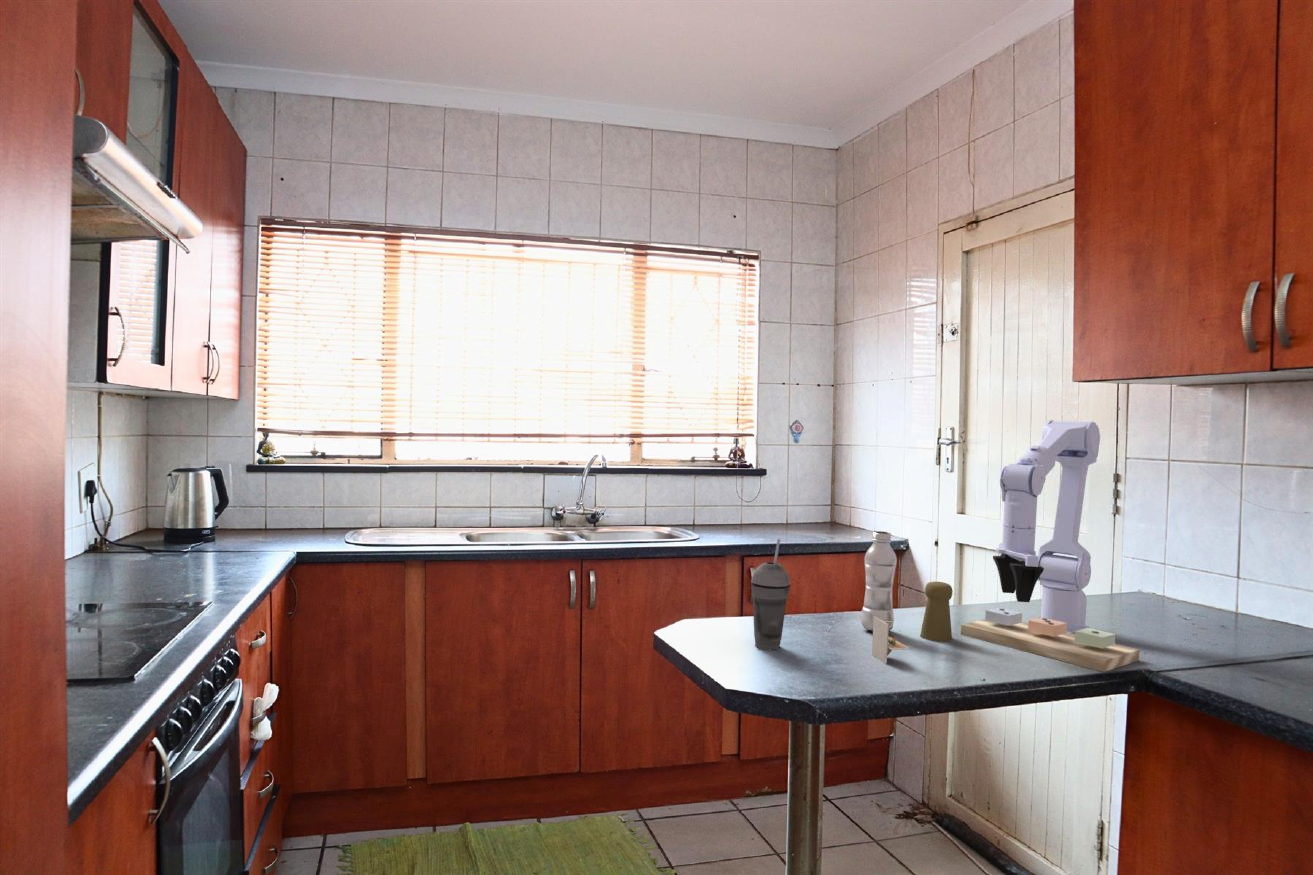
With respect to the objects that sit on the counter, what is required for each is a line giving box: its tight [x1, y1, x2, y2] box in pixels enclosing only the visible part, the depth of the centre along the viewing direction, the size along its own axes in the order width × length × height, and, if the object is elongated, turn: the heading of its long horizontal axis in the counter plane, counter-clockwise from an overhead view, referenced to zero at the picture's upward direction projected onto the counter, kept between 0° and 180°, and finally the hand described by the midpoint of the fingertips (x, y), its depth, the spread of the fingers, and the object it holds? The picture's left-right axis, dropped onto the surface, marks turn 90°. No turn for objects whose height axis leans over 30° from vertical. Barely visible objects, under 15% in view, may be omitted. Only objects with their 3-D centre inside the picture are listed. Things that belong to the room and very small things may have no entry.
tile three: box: [1027, 616, 1067, 637], centre depth 161 cm, size 5×5×2 cm
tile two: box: [984, 607, 1023, 626], centre depth 168 cm, size 5×5×2 cm
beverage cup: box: [750, 538, 791, 651], centre depth 152 cm, size 7×7×20 cm
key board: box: [960, 618, 1141, 673], centre depth 161 cm, size 14×28×2 cm, turn 38°
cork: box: [919, 581, 954, 643], centre depth 164 cm, size 6×6×11 cm
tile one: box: [1074, 628, 1116, 649], centre depth 154 cm, size 5×5×2 cm
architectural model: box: [871, 617, 909, 665], centre depth 147 cm, size 3×7×7 cm, turn 11°
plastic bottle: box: [860, 530, 898, 632], centre depth 167 cm, size 6×7×20 cm
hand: (1015, 597), depth 160 cm, fingers open, 7 cm apart
